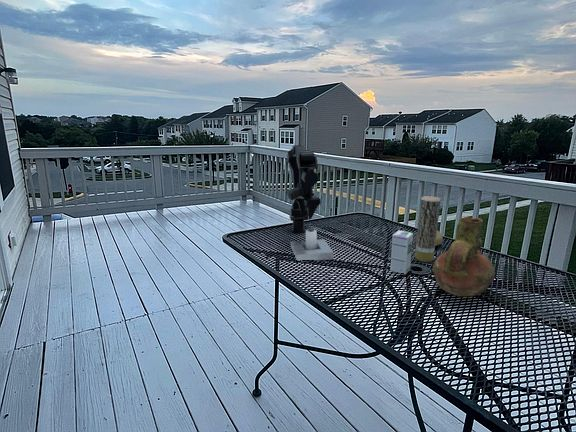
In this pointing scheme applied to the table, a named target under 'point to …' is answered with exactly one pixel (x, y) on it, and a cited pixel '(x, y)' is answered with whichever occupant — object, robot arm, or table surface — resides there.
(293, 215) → the robot arm
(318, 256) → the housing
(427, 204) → the paper tube
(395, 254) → the syrup box
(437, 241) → the bread roll
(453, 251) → the ceramic vessel
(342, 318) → the table surface
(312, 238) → the plug
